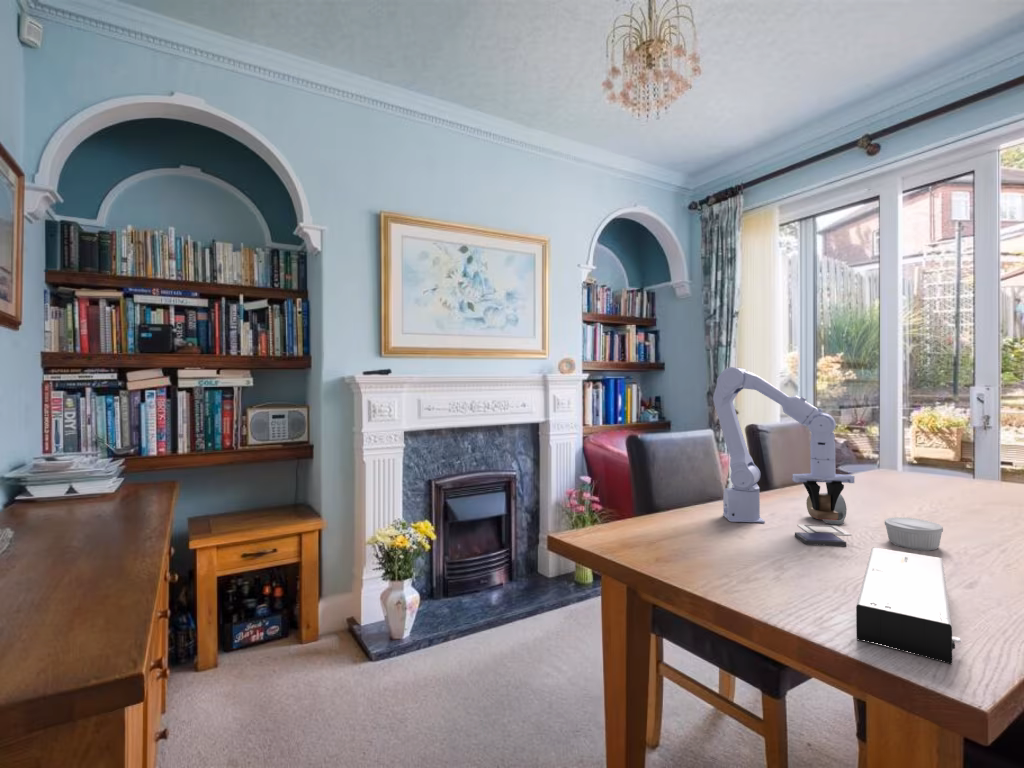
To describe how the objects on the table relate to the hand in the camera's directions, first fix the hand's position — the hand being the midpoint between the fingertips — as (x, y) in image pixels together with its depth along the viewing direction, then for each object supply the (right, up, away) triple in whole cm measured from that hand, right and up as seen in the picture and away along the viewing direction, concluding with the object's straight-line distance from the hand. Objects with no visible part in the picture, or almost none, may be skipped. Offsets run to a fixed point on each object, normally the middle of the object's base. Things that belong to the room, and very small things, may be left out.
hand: (823, 509), depth 136 cm
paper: (0, -6, 0) cm, 6 cm away
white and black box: (-15, -7, -48) cm, 51 cm away
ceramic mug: (+8, -6, +10) cm, 14 cm away
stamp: (0, -2, 0) cm, 2 cm away
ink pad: (-6, -6, -9) cm, 12 cm away
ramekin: (+14, -6, -12) cm, 20 cm away
